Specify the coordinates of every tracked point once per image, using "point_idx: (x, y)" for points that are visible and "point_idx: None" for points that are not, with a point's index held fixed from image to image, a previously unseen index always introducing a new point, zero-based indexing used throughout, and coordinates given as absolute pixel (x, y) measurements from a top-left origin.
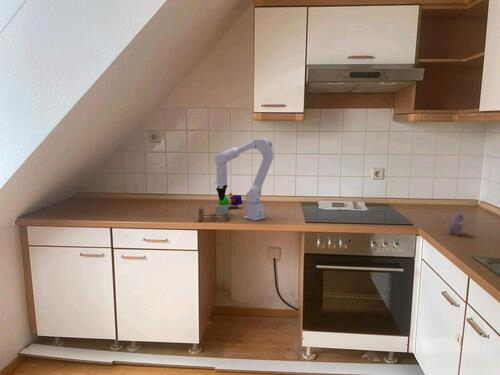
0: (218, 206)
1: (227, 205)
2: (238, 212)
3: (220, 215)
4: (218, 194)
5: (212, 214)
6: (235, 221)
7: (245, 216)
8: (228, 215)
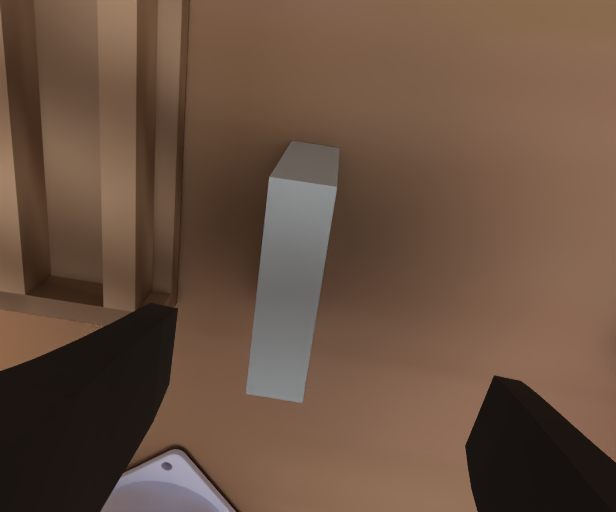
0: (265, 227)
1: (284, 386)
2: (447, 446)
3: (108, 200)
4: (14, 369)
5: (102, 74)
6: (18, 339)
7: (180, 472)
8: (38, 304)
